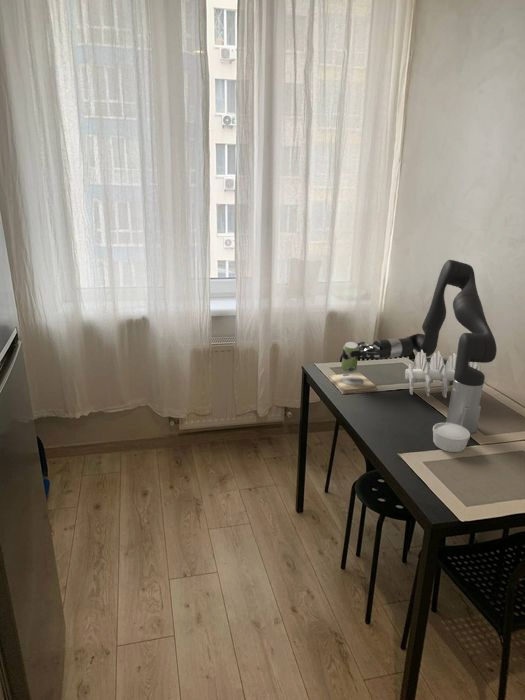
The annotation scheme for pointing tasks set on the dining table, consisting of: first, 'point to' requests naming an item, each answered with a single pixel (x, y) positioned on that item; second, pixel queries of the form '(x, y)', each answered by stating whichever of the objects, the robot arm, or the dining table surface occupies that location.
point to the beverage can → (349, 357)
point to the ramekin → (450, 437)
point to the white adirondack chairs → (433, 371)
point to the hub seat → (351, 382)
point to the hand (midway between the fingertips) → (348, 352)
